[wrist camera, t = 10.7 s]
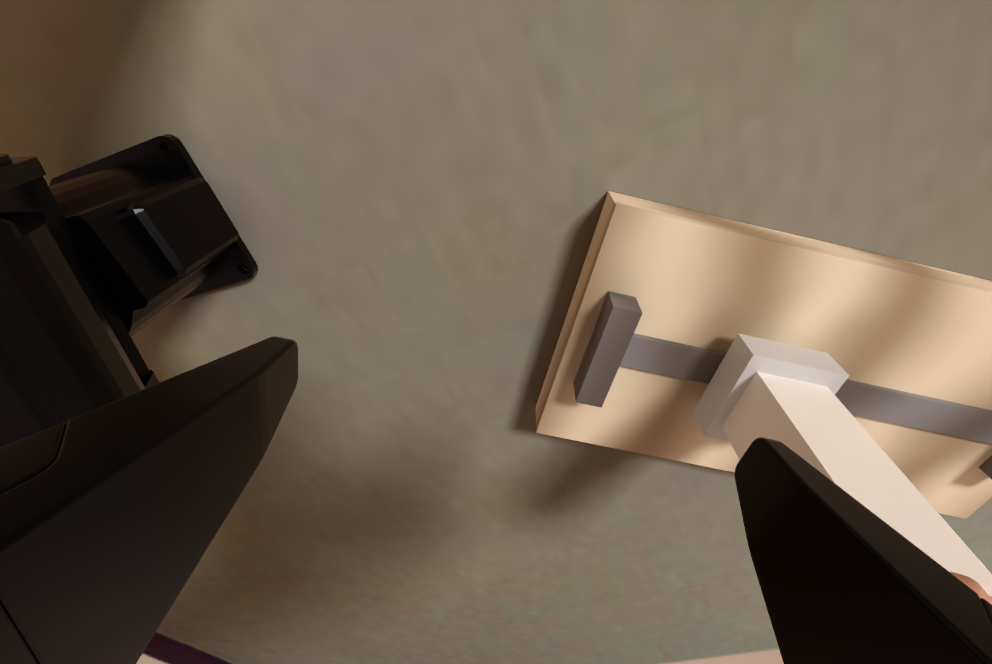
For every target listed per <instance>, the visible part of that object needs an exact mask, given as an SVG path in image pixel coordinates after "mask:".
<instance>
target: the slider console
mask: <svg viewBox="0 0 992 664" xmlns="http://www.w3.org/2000/svg"><path fill="white" fill-rule="evenodd" d="M738 333H739V334H743V335H748V336H753V337H757V338H762V339H766V340H771V341H775V342H780V343H784V344H789V345H794V346H798V347H803V348H807V349H812V350H816V351H821V352H826V353H828V354H829V355H830V356H831V357H832V358H833V359H834V360H835V361H836V362H837V363H838V364H839V365H840V366H841V367H842V368H843V369H844V370H845V371H846V372H847V374H848V375H849V377H848V378H847V380H846V381H845V382H844V383H843V385H842V386H841V387H840V389H839V390H838V391H837V393H836V394H835V396H836V397H837V398H838V399H839V400H840V402H841V403H842V404H843V405H844V406H845V407H846V408H847V410H848V411H849V412H850V413H851V414H852V415H853V416H854V418H855V419H856V420H857V421H858V422H859V423H860V424H861V426H862V427H863V428H864V429H865V430H866V431H867V432H868V434H869V435H870V436H871V437H872V438H873V439H874V440H875V442H876V443H877V444H878V445H879V446H880V447H881V448H882V450H883V451H884V452H885V453H886V454H887V455H888V456H889V458H890V459H891V460H892V461H893V462H894V463H895V464H896V466H897V467H898V468H899V469H900V470H901V471H902V472H903V474H904V475H905V476H906V477H907V478H908V479H909V480H910V482H911V483H912V484H913V485H914V486H915V487H916V488H917V490H918V491H919V492H920V493H921V494H922V495H923V496H924V498H925V499H926V500H927V501H928V502H929V503H930V504H931V506H932V507H933V508H934V509H935V510H936V511H937V512H938V513H941V514H946V515H951V516H956V517H961V518H968V517H969V516H970V515H971V514H972V513H973V512H975V511H976V510H977V509H978V508H979V507H980V506H981V505H983V504H984V503H985V502H986V501H987V500H988V499H990V498H991V497H992V281H990V280H985V279H981V278H977V277H972V276H968V275H964V274H960V273H955V272H951V271H947V270H943V269H938V268H934V267H930V266H926V265H921V264H917V263H913V262H908V261H904V260H900V259H896V258H891V257H887V256H883V255H879V254H874V253H870V252H866V251H862V250H857V249H853V248H849V247H844V246H840V245H836V244H832V243H827V242H823V241H819V240H815V239H810V238H806V237H802V236H798V235H793V234H789V233H785V232H781V231H776V230H772V229H768V228H763V227H759V226H755V225H751V224H746V223H742V222H738V221H734V220H729V219H725V218H721V217H717V216H712V215H708V214H704V213H699V212H695V211H691V210H687V209H682V208H678V207H674V206H670V205H665V204H661V203H657V202H653V201H648V200H644V199H640V198H635V197H631V196H627V195H623V194H618V193H614V192H610V191H608V193H607V196H606V199H605V202H604V205H603V208H602V211H601V214H600V217H599V220H598V223H597V226H596V229H595V232H594V235H593V238H592V241H591V244H590V247H589V250H588V253H587V256H586V259H585V262H584V265H583V268H582V271H581V274H580V276H579V279H578V282H577V285H576V288H575V291H574V294H573V297H572V300H571V303H570V306H569V309H568V312H567V315H566V318H565V321H564V324H563V327H562V330H561V333H560V336H559V339H558V342H557V345H556V348H555V351H554V354H553V357H552V360H551V363H550V365H549V368H548V371H547V374H546V377H545V380H544V383H543V386H542V389H541V392H540V395H539V398H538V401H537V404H536V407H535V409H536V433H540V434H545V435H550V436H555V437H560V438H565V439H570V440H575V441H580V442H585V443H590V444H595V445H600V446H605V447H610V448H615V449H620V450H625V451H630V452H635V453H640V454H645V455H650V456H655V457H660V458H665V459H670V460H675V461H680V462H685V463H690V464H695V465H700V466H705V467H710V468H715V469H720V470H725V471H730V472H735V468H736V465H737V463H738V462H739V459H738V457H737V455H736V453H735V451H734V449H733V447H732V445H731V443H730V441H726V440H721V439H716V438H711V437H706V436H704V435H703V433H702V430H701V428H700V426H699V424H698V422H697V419H696V417H695V415H694V413H693V411H694V409H695V407H696V406H697V404H698V402H699V400H700V399H701V397H702V395H703V393H704V392H705V390H706V388H707V386H708V385H709V383H710V381H711V379H712V378H713V376H714V374H715V372H716V371H717V369H718V367H719V365H720V364H721V362H722V360H723V358H724V357H725V355H726V353H727V351H728V350H729V348H730V346H731V344H732V343H733V341H734V339H735V337H736V336H737V334H738Z"/></svg>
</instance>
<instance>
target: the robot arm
mask: <svg viewBox="0 0 992 664" xmlns="http://www.w3.org/2000/svg"><path fill="white" fill-rule="evenodd" d="M166 143H167V144H169V145H170V146H171V148H172V150H173V152H172V153H171V152H169V150H168V149H167V147H166ZM44 175H46V173H45V171H44V170H43V168H42V166H41V164H40V162H39V160H38V158H37V157H36V156H35V157H18V158H10V157H9V155H8V154H0V664H136V663H137V661H138V659H139V658H140V656H141V655H142V653H143V651H144V650H145V648H146V647H147V645H148V643H149V642H150V640H151V638H152V637H153V635H154V634H155V632H156V630H157V629H158V627H159V625H160V624H161V622H162V621H163V619H164V617H165V616H166V614H167V612H168V611H169V609H170V608H171V606H172V604H173V603H174V601H175V599H176V598H177V596H178V595H179V593H180V591H181V590H182V588H183V587H184V585H185V583H186V582H187V580H188V578H189V577H190V575H191V574H192V572H193V570H194V569H195V567H196V565H197V564H198V562H199V561H200V559H201V557H202V556H203V554H204V552H205V551H206V549H207V548H208V546H209V544H210V543H211V541H212V539H213V538H214V536H215V535H216V533H217V531H218V530H219V528H220V527H221V525H222V523H223V522H224V520H225V518H226V517H227V515H228V514H229V512H230V510H231V509H232V507H233V505H234V504H235V502H236V501H237V499H238V497H239V496H240V494H241V492H242V491H243V489H244V488H245V486H246V484H247V483H248V481H249V479H250V478H251V476H252V475H253V473H254V471H255V470H256V468H257V466H258V465H259V463H260V461H261V459H262V458H263V456H264V454H265V452H266V450H267V448H268V446H269V444H270V442H271V439H272V437H273V435H274V433H275V431H276V429H277V426H278V424H279V422H280V420H281V418H282V416H283V413H284V411H285V409H286V407H287V405H288V403H289V400H290V398H291V396H292V394H293V392H294V390H295V387H296V384H297V380H298V346H297V343H296V342H295V341H294V340H290V339H286V338H281V337H270V338H268V339H265V340H263V341H260V342H258V343H256V344H253V345H251V346H248V347H246V348H243V349H241V350H238V351H236V352H234V353H231V354H229V355H226V356H224V357H221V358H219V359H217V360H214V361H212V362H209V363H207V364H204V365H202V366H199V367H197V368H195V369H192V370H190V371H187V372H185V373H182V374H180V375H178V376H175V377H173V378H170V379H168V380H165V381H163V382H160V383H159V381H158V379H157V377H156V376H155V374H154V372H153V371H151V370H149V369H148V367H147V365H146V364H145V362H144V360H143V358H142V356H141V355H140V353H139V351H138V349H137V347H136V345H135V344H134V342H133V340H132V338H131V336H132V335H133V334H135V333H136V332H137V331H139V330H140V329H141V328H143V327H144V326H145V325H147V324H148V323H149V322H151V321H152V320H154V319H155V318H156V317H158V316H159V315H160V314H162V313H163V312H164V311H166V310H167V309H168V308H170V307H171V306H173V305H174V304H175V303H177V302H178V301H179V300H181V299H184V298H188V297H191V296H194V295H197V294H201V293H204V292H207V291H210V290H214V289H217V288H220V287H223V286H227V285H230V284H233V283H236V282H240V281H243V280H246V279H249V278H251V277H252V276H253V275H255V274H256V272H257V271H258V266H257V264H256V262H255V260H254V259H253V257H252V255H251V254H250V252H249V251H248V249H247V247H246V246H245V244H244V243H243V241H242V239H241V238H240V236H239V234H238V231H237V230H236V228H235V227H234V225H233V223H232V222H231V220H230V218H229V217H228V215H227V214H226V212H225V210H224V209H223V207H222V205H221V204H220V202H219V201H218V199H217V197H216V196H215V194H214V192H213V191H212V189H211V188H210V186H209V184H208V183H207V182H206V181H205V179H204V178H203V176H202V174H201V173H200V171H199V170H198V168H197V166H196V165H195V163H194V162H193V160H192V158H191V157H190V155H189V153H188V152H187V150H186V149H185V147H184V145H183V144H182V142H181V141H180V140H179V139H178V138H177V137H175V136H173V135H170V134H167V135H162V136H158V137H155V138H153V139H150V140H148V141H145V142H143V143H140V144H138V145H135V146H133V147H130V148H128V149H125V150H123V151H120V152H118V153H115V154H113V155H110V156H108V157H105V158H103V159H100V160H98V161H95V162H93V163H90V164H88V165H85V166H83V167H80V168H78V169H75V170H73V171H70V172H68V173H65V174H63V175H60V176H58V177H55V178H53V179H52V180H51V183H50V186H48V185H47V183H46V181H45V179H44V178H43V176H44ZM241 264H243V265H245V266H246V267H247V268H248V271H247V270H245V269H244V268H243V267H242V265H241ZM735 481H736V486H737V491H738V496H739V501H740V506H741V511H742V516H743V521H744V526H745V531H746V537H747V541H748V545H749V550H750V553H751V557H752V561H753V564H754V567H755V571H756V574H757V577H758V581H759V584H760V587H761V590H762V594H763V597H764V600H765V603H766V607H767V610H768V613H769V617H770V620H771V623H772V626H773V630H774V633H775V636H776V640H777V643H778V646H779V649H780V652H781V656H782V659H783V662H784V664H992V604H990V603H989V602H988V601H986V600H985V599H983V598H980V597H979V595H978V594H977V593H976V592H975V591H973V590H972V589H971V588H970V587H968V586H967V585H966V584H964V583H963V582H962V581H960V580H959V579H958V578H957V577H955V576H954V575H953V574H951V573H950V572H949V571H948V570H946V569H945V568H944V567H942V566H941V565H940V564H939V563H937V562H936V561H935V560H933V559H932V558H931V557H929V556H928V555H927V554H926V553H924V552H923V551H922V550H920V549H919V548H918V547H917V546H915V545H914V544H913V543H911V542H910V541H909V540H908V539H906V538H905V537H904V536H902V535H901V534H900V533H898V532H897V531H896V530H895V529H893V528H892V527H891V526H889V525H888V524H887V523H886V522H884V521H883V520H882V519H880V518H879V517H878V516H876V515H875V514H874V513H873V512H871V511H870V510H869V509H867V508H866V507H865V506H864V505H862V504H861V503H860V502H858V501H857V500H856V499H855V498H853V497H852V496H851V495H849V494H848V493H847V492H845V491H844V490H843V489H842V488H840V487H839V486H838V485H836V484H835V483H834V482H833V481H831V480H830V479H829V478H827V477H826V476H825V475H824V474H822V473H821V472H820V471H818V470H817V469H816V468H814V467H813V466H812V465H811V464H809V463H808V462H807V461H805V460H804V459H803V458H802V457H800V456H799V455H798V454H796V453H795V452H794V451H792V450H791V449H790V448H789V447H787V446H786V445H785V444H783V443H782V442H780V441H778V440H773V439H768V438H764V437H759V438H756V439H755V440H754V441H753V442H752V443H751V445H750V446H749V447H748V449H747V450H746V452H745V453H744V455H743V456H742V458H741V459H740V460H739V462H738V463H737V465H736V468H735Z"/></svg>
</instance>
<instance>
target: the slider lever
mask: <svg viewBox="0 0 992 664" xmlns="http://www.w3.org/2000/svg"><path fill="white" fill-rule="evenodd" d="M848 377H849V375H848V374H847V372H846V371H845V370H844V369H843V368H842V367H841V366H840V365H839V364H838V363H837V362H836V361H835V360H834V359H833V358H832V357H831V356H830V355H829V354H828V353H826V352H821V351H816V350H812V349H807V348H803V347H798V346H794V345H789V344H784V343H780V342H775V341H771V340H766V339H762V338H757V337H753V336H748V335H743V334H739V333H738V334H737V336H736V337H735V339H734V341H733V343H732V344H731V346H730V348H729V350H728V351H727V353H726V355H725V357H724V358H723V360H722V362H721V364H720V365H719V367H718V369H717V371H716V372H715V374H714V376H713V378H712V379H711V381H710V383H709V385H708V386H707V388H706V390H705V392H704V393H703V395H702V397H701V399H700V400H699V402H698V404H697V406H696V407H695V409H694V411H693V413H694V415H695V417H696V419H697V422H698V424H699V426H700V428H701V430H702V433H703V435H704V436H706V437H711V438H716V439H721V440H726V441H730V443H731V445H732V447H733V449H734V451H735V453H736V455H737V457H738V459H739V460H740V459H741V458H742V456H743V455H744V453H745V452H746V450H747V449H748V447H749V446H750V445H751V443H752V442H753V441H754V440H755V439H756V438H759V437H764V438H768V439H773V440H778V441H780V442H782V443H783V444H785V445H786V446H787V447H789V448H790V449H791V450H792V451H794V452H795V453H796V454H798V455H799V456H800V457H802V458H803V459H804V460H805V461H807V462H808V463H809V464H811V465H812V466H813V467H814V468H816V469H817V470H818V471H820V472H821V473H822V474H824V475H825V476H826V477H827V478H829V479H830V480H831V481H833V482H834V483H835V484H836V485H838V486H839V487H840V488H842V489H843V490H844V491H845V492H847V493H848V494H849V495H851V496H852V497H853V498H855V499H856V500H857V501H858V502H860V503H861V504H862V505H864V506H865V507H866V508H867V509H869V510H870V511H871V512H873V513H874V514H875V515H876V516H878V517H879V518H880V519H882V520H883V521H884V522H886V523H887V524H888V525H889V526H891V527H892V528H893V529H895V530H896V531H897V532H898V533H900V534H901V535H902V536H904V537H905V538H906V539H908V540H909V541H910V542H911V543H913V544H914V545H915V546H917V547H918V548H919V549H920V550H922V551H923V552H924V553H926V554H927V555H928V556H929V557H931V558H932V559H933V560H935V561H936V562H937V563H939V564H940V565H941V566H942V567H944V568H945V569H946V570H948V571H949V572H950V573H951V574H953V575H954V576H955V577H957V578H958V579H959V580H960V581H962V582H963V583H964V584H966V585H967V586H968V587H970V588H971V589H972V590H973V591H975V592H976V593H977V594H978V595H979V597H980V598H983V599H985V600H986V601H988V602H989V603H990V604H992V599H991V596H992V574H991V573H990V572H989V571H988V570H987V568H986V567H985V566H984V565H983V564H982V563H981V562H980V560H979V559H978V558H977V557H976V556H975V555H974V554H973V552H972V551H971V550H970V549H969V548H968V547H967V546H966V544H965V543H964V542H963V541H962V540H961V539H960V538H959V536H958V535H957V534H956V533H955V532H954V531H953V530H952V528H951V527H950V526H949V525H948V524H947V523H946V522H945V520H944V519H943V518H942V517H941V516H940V515H939V514H938V512H937V511H936V510H935V509H934V508H933V507H932V506H931V504H930V503H929V502H928V501H927V500H926V499H925V498H924V496H923V495H922V494H921V493H920V492H919V491H918V490H917V488H916V487H915V486H914V485H913V484H912V483H911V482H910V480H909V479H908V478H907V477H906V476H905V475H904V474H903V472H902V471H901V470H900V469H899V468H898V467H897V466H896V464H895V463H894V462H893V461H892V460H891V459H890V458H889V456H888V455H887V454H886V453H885V452H884V451H883V450H882V448H881V447H880V446H879V445H878V444H877V443H876V442H875V440H874V439H873V438H872V437H871V436H870V435H869V434H868V432H867V431H866V430H865V429H864V428H863V427H862V426H861V424H860V423H859V422H858V421H857V420H856V419H855V418H854V416H853V415H852V414H851V413H850V412H849V411H848V410H847V408H846V407H845V406H844V405H843V404H842V403H841V402H840V400H839V399H838V398H837V397H836V396H835V394H836V393H837V391H838V390H839V389H840V387H841V386H842V385H843V383H844V382H845V381H846V380H847V378H848Z"/></svg>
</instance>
